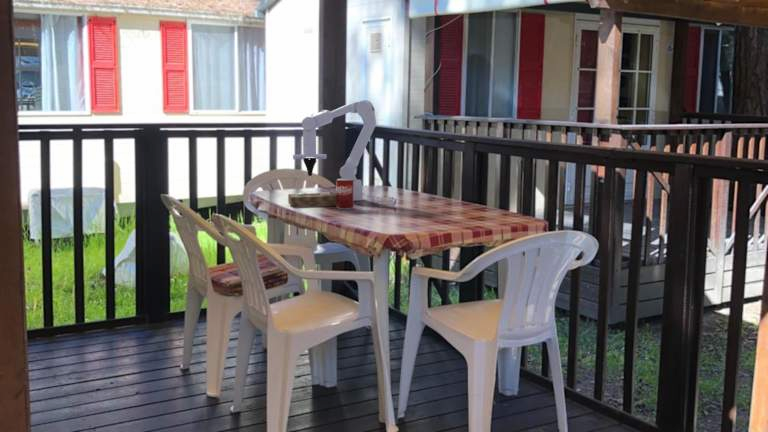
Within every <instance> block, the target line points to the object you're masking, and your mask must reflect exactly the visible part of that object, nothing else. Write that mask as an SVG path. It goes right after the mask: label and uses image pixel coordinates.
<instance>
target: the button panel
mask: <svg viewBox="0 0 768 432" xmlns="http://www.w3.org/2000/svg"><path fill="white" fill-rule="evenodd" d="M319 194H320V192H318V193H307V196H296V195H297V193H288V195H287V197H288V201H287V202H288V203H289V204H290V205H289V206H290V207H291V208H299V207H300V208H302V207H303V208H305V207H306V208H307V207H328V206H329V207H331V206H335V207H336V192H330V194H331V195H326V196H320V195H319Z"/></svg>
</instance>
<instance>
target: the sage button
mask: <svg viewBox="0 0 768 432" xmlns="http://www.w3.org/2000/svg"><path fill="white" fill-rule="evenodd" d="M296 194H297V195H296V196H307V194H308V192H296Z"/></svg>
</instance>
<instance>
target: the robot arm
mask: <svg viewBox="0 0 768 432" xmlns="http://www.w3.org/2000/svg"><path fill="white" fill-rule="evenodd" d="M375 111H376V110H375V107H374V105H373V103H372V102H371V101H370V100H367V99H364V100H360V101H355V102H350V103H348V104H345V105H343V106H341V107H338V108H336V109H333V110H328V109H322V110H320V112H318V113H315V114H314V113H312V114H310V116H305V117H304V118H303V120H302V121H301V127H302V151H303V152H302V154H301V153H300V154H292V160H303V163H304V165H305V169H306V171H307V176H309V177H311V176H313V170H314V167H315V165H316V163H317V160H326V159H327V154H325V153H323V154H322V153H317V128H321V127H323V126H325V125H328V124H331V123H332V122H333V119H334V118H337V117H340V116H343V115H347V114H348V113H352V114H358V115H359V116H360V118H361V120H362V122H363V126H362V129H361V131H360V133H359V135H358V137H357V140H356V142H355V144H354V145H353V147H352V150H351V152H350V154H349V157H348V158H347V159H346V161H345V164H344V165H343V166H341V167H340V169H339V176H340V177H341V178H350V179H353V180H354V202H355V201H363V182H362V179H357V177H356V175H357V172H358V165H359V164H360V159H361V157H362V156H363V154H364V152H365V149H366V148H367V145H368V142H369V141H370V139H371V136H372V135H373V132H374V131H375V128H376V125H377V119H376V112H375Z"/></svg>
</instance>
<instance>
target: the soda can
mask: <svg viewBox="0 0 768 432" xmlns="http://www.w3.org/2000/svg"><path fill="white" fill-rule="evenodd" d="M335 193H336V206H335V207H336V209H338V210H352V209H354V207H355V201H354V180H353V179H350V178H342V177H341V178H337V179H336V180H335Z"/></svg>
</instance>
